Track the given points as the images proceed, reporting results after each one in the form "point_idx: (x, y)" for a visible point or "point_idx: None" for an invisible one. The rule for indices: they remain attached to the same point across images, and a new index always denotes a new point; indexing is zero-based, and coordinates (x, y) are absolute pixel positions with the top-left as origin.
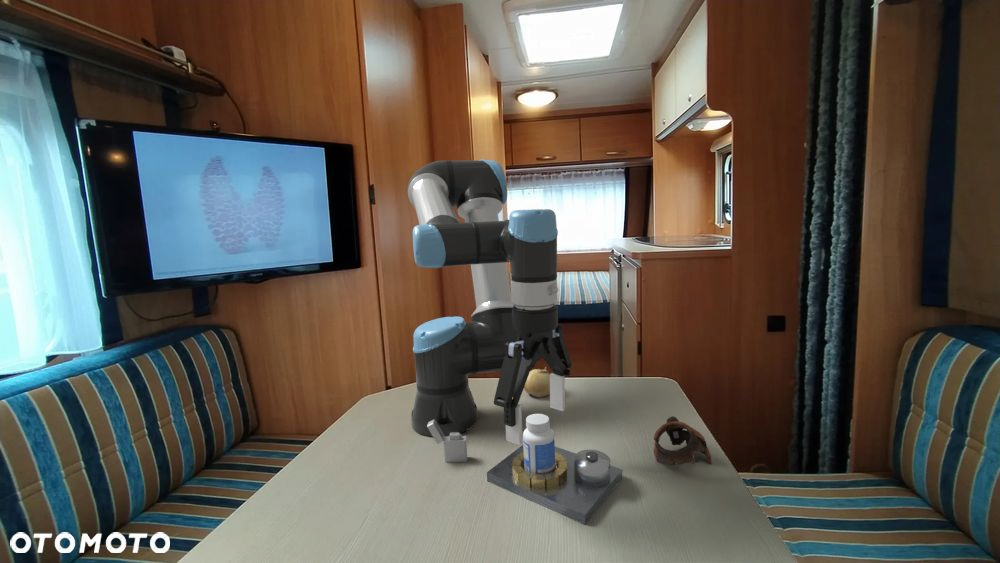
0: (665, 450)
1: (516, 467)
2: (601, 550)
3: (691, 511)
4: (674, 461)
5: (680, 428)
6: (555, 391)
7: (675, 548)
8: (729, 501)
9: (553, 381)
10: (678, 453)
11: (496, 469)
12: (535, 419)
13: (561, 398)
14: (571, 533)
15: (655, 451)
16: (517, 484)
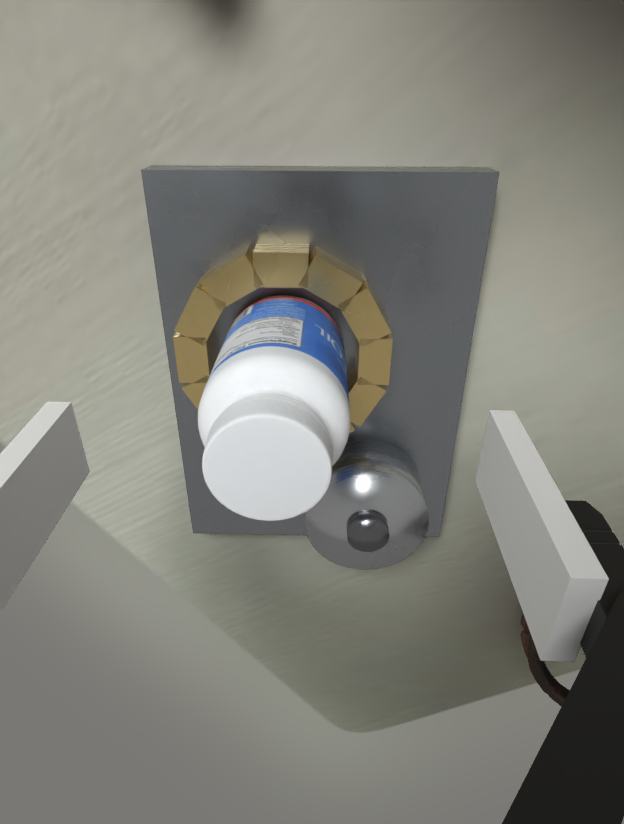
0: None
1: (202, 304)
2: (156, 562)
3: (383, 645)
4: (524, 632)
5: None
6: (514, 520)
7: (257, 645)
8: (456, 683)
9: (541, 564)
10: (529, 665)
11: (185, 193)
12: (253, 467)
13: (497, 526)
14: (152, 502)
15: None
16: (169, 325)
